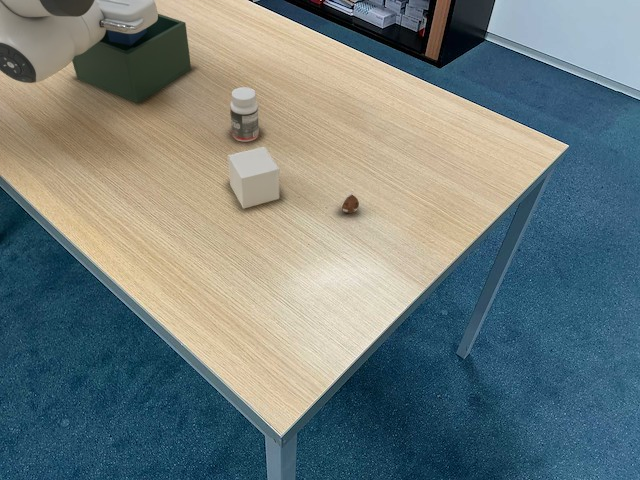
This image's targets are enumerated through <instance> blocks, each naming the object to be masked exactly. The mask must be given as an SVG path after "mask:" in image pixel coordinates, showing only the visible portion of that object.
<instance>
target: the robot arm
mask: <svg viewBox="0 0 640 480" xmlns="http://www.w3.org/2000/svg"><path fill="white" fill-rule="evenodd" d="M157 7H158V6H157V3H156V1H155V0H0V72H1V73H3V74H5V75H6V76H7V77H9V78H10V79H12V80H15V81H18V82H21V83H26V84H36V83H39V82H42V81H45V80H47V79H49V78H50V77H52V76H53V75H55V74H57V73H59V72H60V71H62V70H63V69H64V68H66V67H67V66H69V65H70V64H71V63H72V60H73V58H74V57H75V56H77V55H80V54H82V53H84V52H86V51H87V50H88V49H89V48H91V47H92V46H93V45H95V44H96V43H97V42H99V41H100V40H101V39H102V38H103V37H104V35H105V32H106V30H111V31H116V32H121V33H127V34H133V33H137V32H140V31H142V30H144V29H146V28H147V27H149V26H151V25H152V24H154V23H155V22H156V21H157V20H158V14H159V13H158V8H157Z"/></svg>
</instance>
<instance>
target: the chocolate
mask: <svg viewBox="0 0 640 480" xmlns="http://www.w3.org/2000/svg"><path fill="white" fill-rule="evenodd" d="M355 191H356V189H353V190H351V191H350V192H347V194H346V198H345V199H344V201H343V202H342V203H341V206H340V210H341V212H343V213H346V214H353V213H355V212H356V211H358V210H359V206H360V201H359V199H358V197H356V196H355V195H353V194H354V193H355Z"/></svg>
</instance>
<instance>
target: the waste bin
mask: <svg viewBox="0 0 640 480" xmlns="http://www.w3.org/2000/svg"><path fill="white" fill-rule="evenodd" d="M146 29H147V33H146V34H144V35H143V36H142V37H141V38H140V39H138V40H137V41H136V42H135V43H133V44H132V45H126V44H121V43H116V42H111V41H109V36H108V32H107V30H106V32H105V35H104V37H103V38H102V39H101V40H100V41H99V42H97V43H96V44H95V45H93V46H92V47H91V48H89V49H88V50H87V51H86V52H84V53H82V54H80V55H77V56H75V57H74V58H73V60H72V61H71V63H72V66H73V68H74V69H73V70H74V73H75V75H76V80H78V81H81V82H83V83H86V84H89V85H91V86H93V87H96V88H99V89H100V90H101V89H102V90H103V91H106V92H109V93H111V94H114V95H116V96H118V97H121V98H123V99H126V100H129V101H132V102H134V103H136V104H140V103H142V102H143V101H145V100H147V98H149V97H151V96H152V95H155V93H157V92H159V91H160V90H162V89H163V88H165V87H166V86H167V85H169V84H171V83H172V82H175V80H177V79H179V78H180V77H182V76H183V75H185V74H187V73H188V72H190V70H192V64H191V57H190V56H191V55H190V49H189V48H190V47H189V40H188V32H187V24H186V22H185V21H182V20H180V19H176V18H173V17H170V16H167V15H164V14H161V13H158V20H157V21H156V22H155V23H154V24H152V25H151V26H149V27H147V28H146Z"/></svg>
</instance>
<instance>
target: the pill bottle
mask: <svg viewBox="0 0 640 480" xmlns="http://www.w3.org/2000/svg"><path fill="white" fill-rule="evenodd" d="M229 111H230V124H231V125H230V127H231V135H232V137H233V138H234V139H235V140H236V141H238V142H244V143H246V142H247V143H248V142H252V141H254V140H256V139H257V138H258V137H259V134H260V130H259V129H260V127H259V126H260V125H259V104H258V101H257V93H256V91H255V90H254V88H251V87H248V86H247V87H246V86H240V87H237V88H235V89H233V90H232V92H231V101H230V103H229Z"/></svg>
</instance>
